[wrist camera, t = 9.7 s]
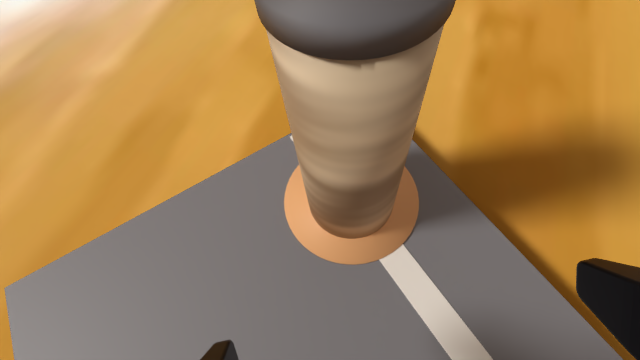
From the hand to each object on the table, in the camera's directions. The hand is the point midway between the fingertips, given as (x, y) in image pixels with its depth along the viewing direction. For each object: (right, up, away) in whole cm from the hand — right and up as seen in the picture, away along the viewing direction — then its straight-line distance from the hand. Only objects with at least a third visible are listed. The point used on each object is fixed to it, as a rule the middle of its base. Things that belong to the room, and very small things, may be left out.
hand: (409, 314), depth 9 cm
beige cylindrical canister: (-1, +2, +9) cm, 10 cm away
